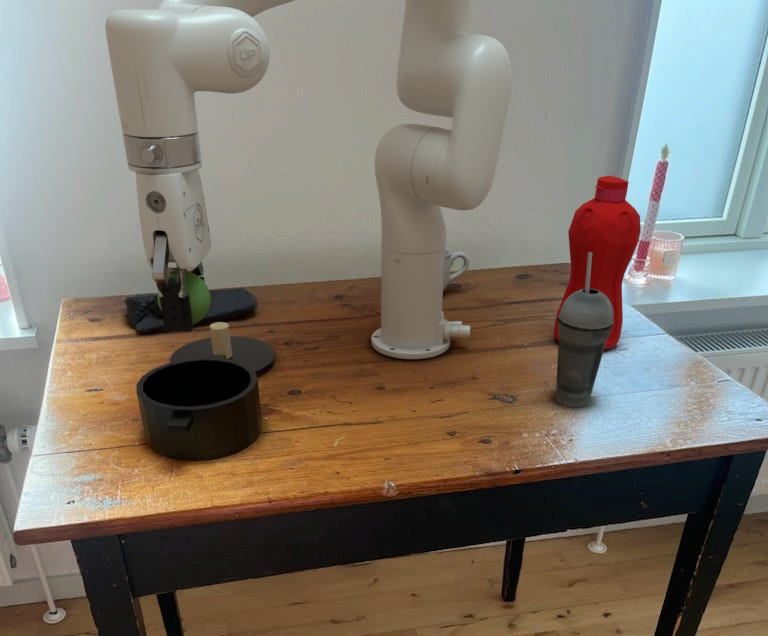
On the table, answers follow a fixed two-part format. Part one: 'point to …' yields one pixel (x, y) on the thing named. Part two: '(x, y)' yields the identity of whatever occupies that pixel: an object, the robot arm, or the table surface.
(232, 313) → the dark slate chunk
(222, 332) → the lid
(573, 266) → the water bottle
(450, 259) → the teacup
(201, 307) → the ball
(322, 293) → the table surface
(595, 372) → the beverage cup
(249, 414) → the pan
